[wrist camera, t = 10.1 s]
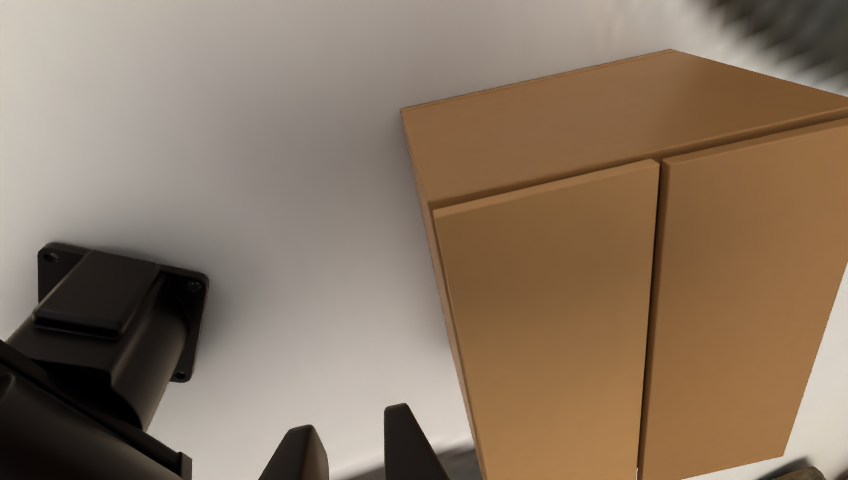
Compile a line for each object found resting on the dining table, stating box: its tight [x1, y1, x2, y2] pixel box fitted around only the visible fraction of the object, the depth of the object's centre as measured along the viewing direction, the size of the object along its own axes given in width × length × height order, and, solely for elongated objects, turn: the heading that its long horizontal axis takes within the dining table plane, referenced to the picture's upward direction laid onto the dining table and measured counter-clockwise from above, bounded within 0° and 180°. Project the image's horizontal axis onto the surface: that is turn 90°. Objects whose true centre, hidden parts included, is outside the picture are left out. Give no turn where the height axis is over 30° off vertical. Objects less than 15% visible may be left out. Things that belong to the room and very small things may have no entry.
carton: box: [400, 49, 848, 480], centre depth 18 cm, size 11×13×9 cm
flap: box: [433, 159, 660, 480], centre depth 14 cm, size 5×13×1 cm, turn 11°
